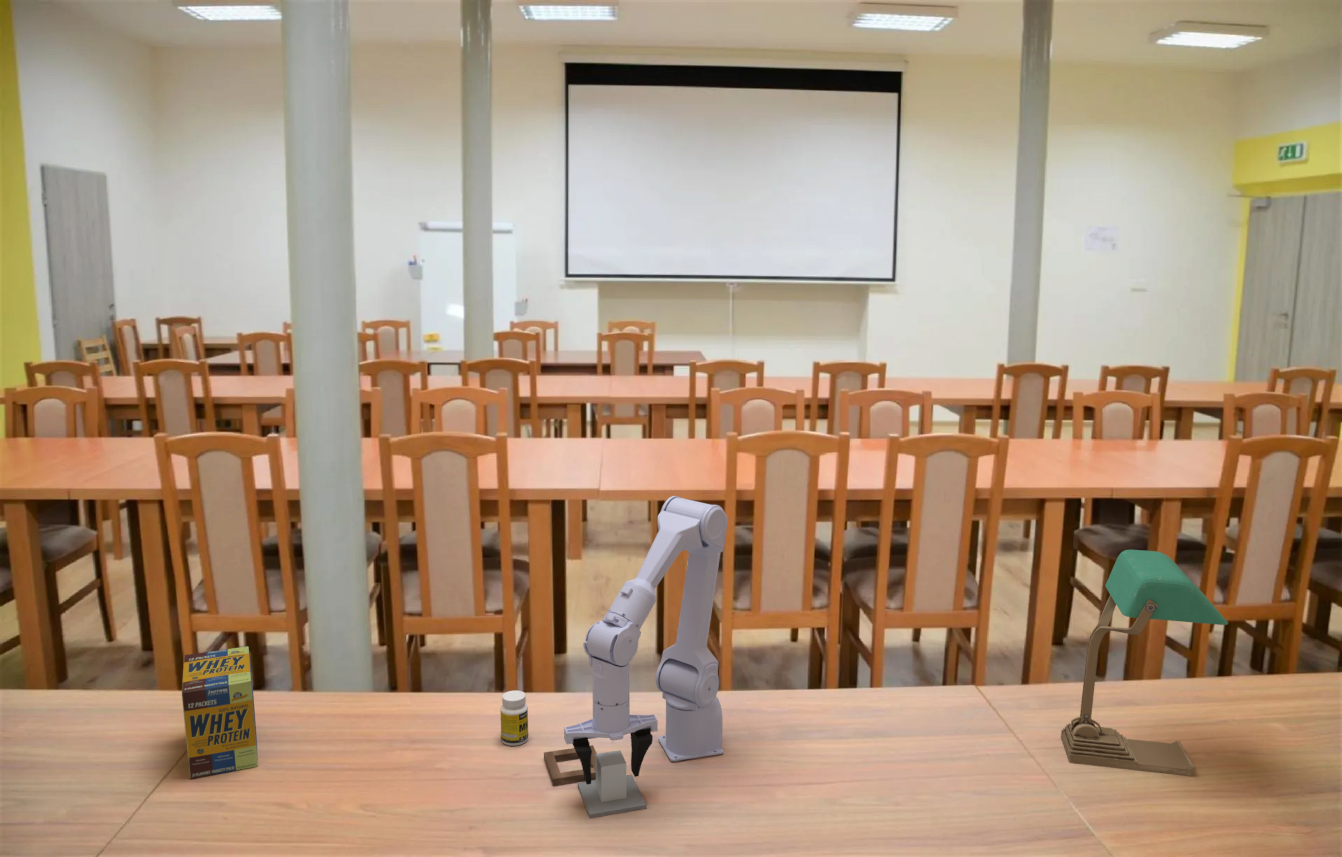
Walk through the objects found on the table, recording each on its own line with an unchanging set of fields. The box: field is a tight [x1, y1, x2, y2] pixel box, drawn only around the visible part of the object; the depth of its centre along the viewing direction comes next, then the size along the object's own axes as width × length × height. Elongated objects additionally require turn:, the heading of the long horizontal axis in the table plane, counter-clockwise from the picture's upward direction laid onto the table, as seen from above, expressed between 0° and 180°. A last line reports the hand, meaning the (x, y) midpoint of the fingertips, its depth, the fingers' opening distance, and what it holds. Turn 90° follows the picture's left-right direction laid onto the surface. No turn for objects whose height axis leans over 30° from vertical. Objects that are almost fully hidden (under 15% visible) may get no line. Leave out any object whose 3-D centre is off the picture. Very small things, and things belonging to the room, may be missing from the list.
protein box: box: [181, 645, 259, 780], centre depth 169 cm, size 10×15×16 cm
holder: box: [543, 744, 598, 787], centre depth 166 cm, size 8×8×1 cm
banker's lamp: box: [1060, 549, 1229, 777], centre depth 168 cm, size 16×21×35 cm
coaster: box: [577, 773, 648, 819], centre depth 158 cm, size 9×9×1 cm
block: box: [595, 750, 627, 802], centre depth 157 cm, size 4×4×6 cm
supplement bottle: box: [499, 690, 529, 747], centre depth 174 cm, size 5×5×8 cm
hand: (611, 777), depth 157 cm, fingers open, 7 cm apart
